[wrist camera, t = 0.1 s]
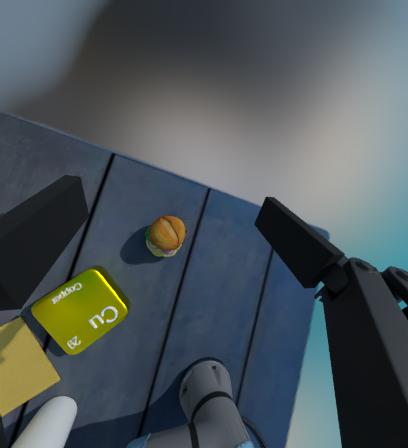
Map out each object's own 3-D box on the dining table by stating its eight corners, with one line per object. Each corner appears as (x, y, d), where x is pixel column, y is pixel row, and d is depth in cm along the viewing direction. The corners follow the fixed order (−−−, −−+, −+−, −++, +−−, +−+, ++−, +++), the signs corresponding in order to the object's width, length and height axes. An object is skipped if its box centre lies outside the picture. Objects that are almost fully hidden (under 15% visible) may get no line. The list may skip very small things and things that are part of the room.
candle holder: (62, 441, 39) (21, 531, 27) (21, 427, 37) (-42, 519, 25) (90, 400, 41) (62, 469, 29) (52, 385, 39) (6, 453, 27)
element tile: (99, 261, 42) (92, 266, 37) (134, 306, 44) (130, 315, 39) (40, 299, 38) (23, 309, 34) (80, 346, 40) (69, 361, 36)
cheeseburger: (137, 247, 44) (136, 242, 35) (156, 215, 48) (159, 203, 39) (170, 263, 46) (177, 262, 37) (186, 231, 50) (195, 223, 41)
